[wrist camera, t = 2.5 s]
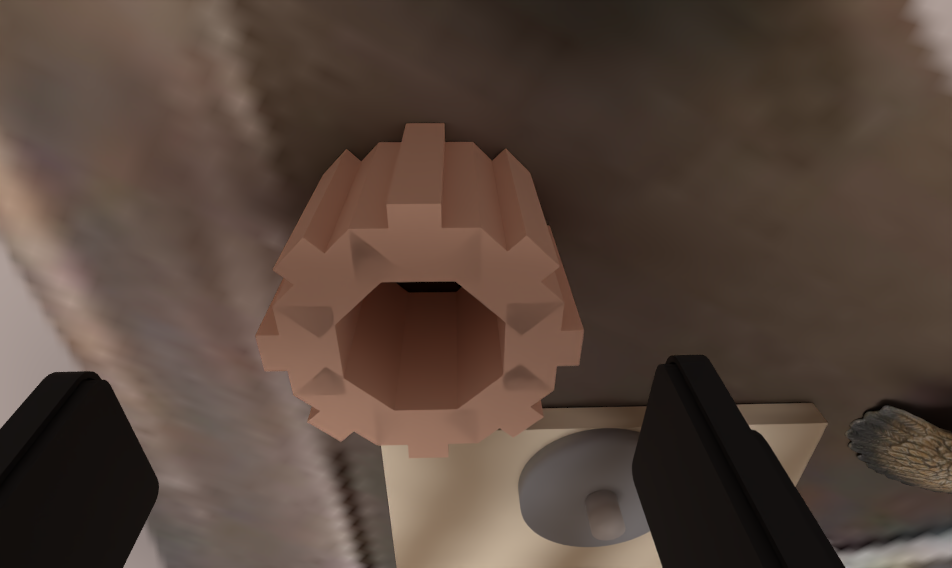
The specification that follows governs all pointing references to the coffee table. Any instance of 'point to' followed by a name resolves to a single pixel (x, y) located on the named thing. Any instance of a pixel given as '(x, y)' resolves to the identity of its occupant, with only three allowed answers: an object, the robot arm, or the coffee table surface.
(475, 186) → the gear wheel
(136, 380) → the coffee table surface
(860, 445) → the eagle figurine
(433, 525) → the board
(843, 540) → the coffee table surface
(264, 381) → the coffee table surface
